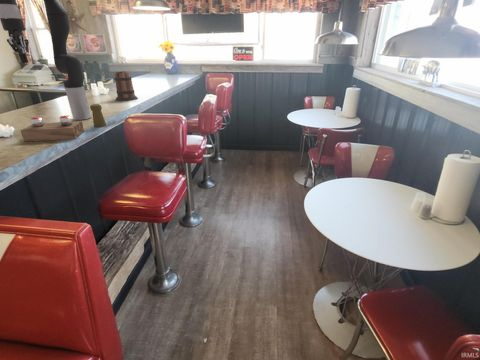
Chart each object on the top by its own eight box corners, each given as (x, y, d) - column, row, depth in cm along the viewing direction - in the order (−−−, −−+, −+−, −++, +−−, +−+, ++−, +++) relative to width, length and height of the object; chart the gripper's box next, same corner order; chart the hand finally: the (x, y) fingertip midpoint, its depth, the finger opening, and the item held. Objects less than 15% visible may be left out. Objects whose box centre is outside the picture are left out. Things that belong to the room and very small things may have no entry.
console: (37, 133, 134) (34, 123, 132) (84, 131, 137) (81, 121, 135) (24, 141, 123) (20, 130, 121) (75, 138, 126) (72, 127, 124)
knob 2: (65, 129, 131) (61, 115, 129) (75, 129, 132) (71, 115, 129) (61, 132, 128) (57, 117, 125) (72, 131, 128) (67, 117, 125)
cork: (101, 127, 143) (96, 105, 138) (91, 126, 144) (85, 105, 139) (108, 124, 148) (104, 103, 144) (98, 124, 149) (93, 102, 145)
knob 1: (37, 131, 130) (32, 116, 127) (47, 130, 130) (43, 116, 128) (32, 134, 126) (27, 119, 123) (43, 133, 126) (38, 118, 124)
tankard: (135, 100, 212) (130, 72, 203) (112, 101, 210) (106, 73, 202) (142, 95, 233) (137, 69, 224) (121, 96, 232) (116, 70, 223)
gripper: (9, 19, 122) (23, 62, 130) (-10, 16, 110) (7, 64, 118) (28, 19, 123) (41, 62, 131) (11, 16, 111) (26, 63, 119)
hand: (25, 62), depth 124 cm, fingers closed
